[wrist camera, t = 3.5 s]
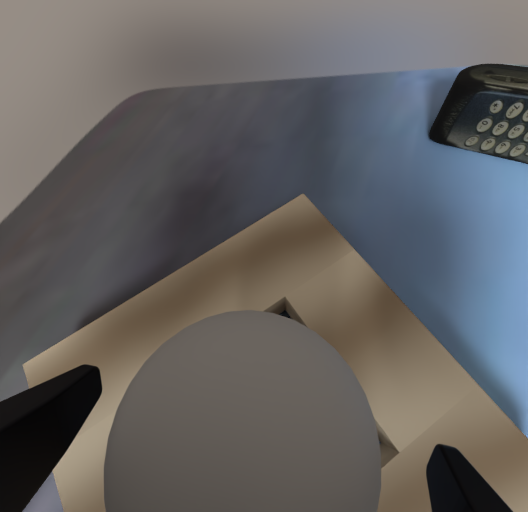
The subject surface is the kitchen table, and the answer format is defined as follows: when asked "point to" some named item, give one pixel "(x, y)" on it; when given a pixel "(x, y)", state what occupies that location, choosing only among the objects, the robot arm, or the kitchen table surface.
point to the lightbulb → (243, 424)
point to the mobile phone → (486, 112)
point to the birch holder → (324, 324)
